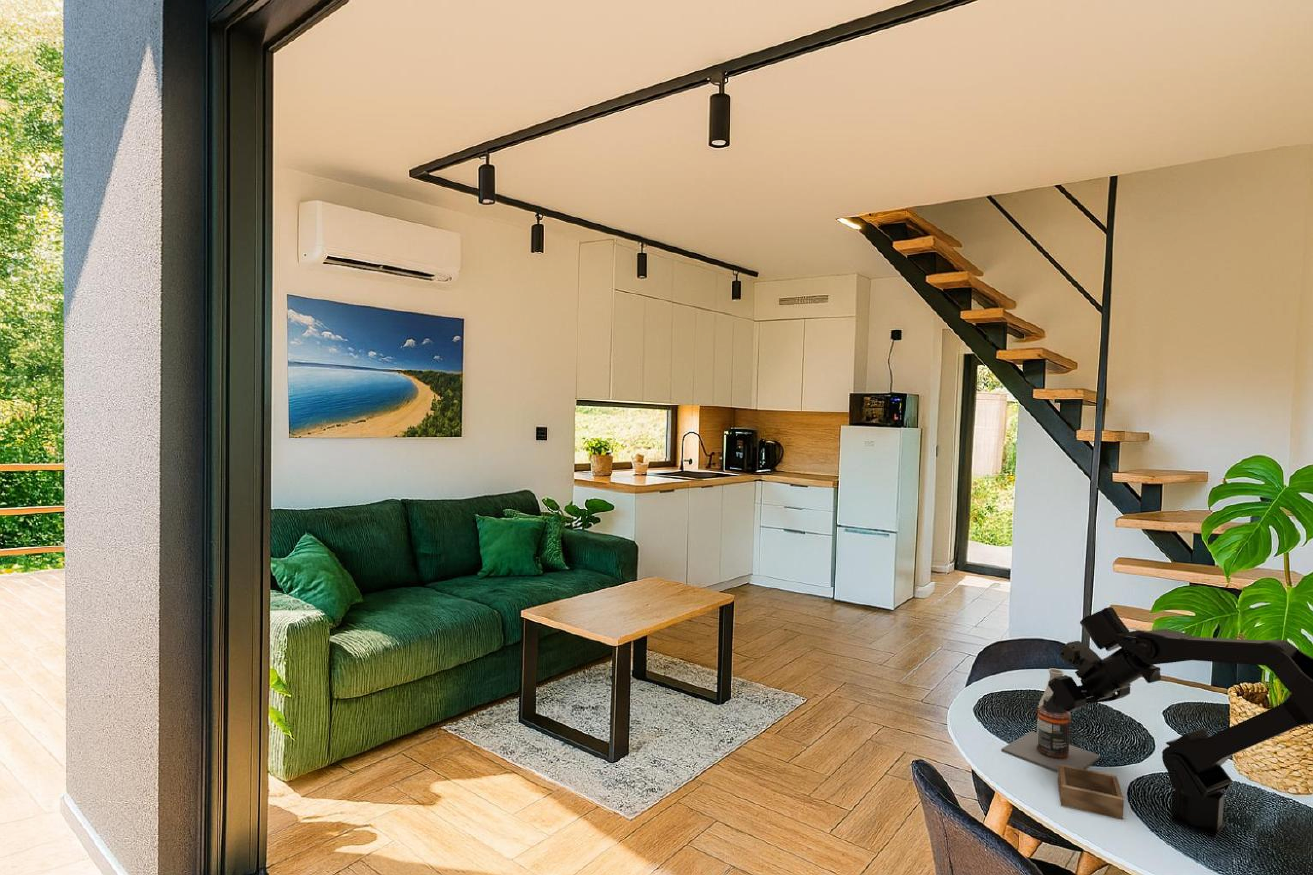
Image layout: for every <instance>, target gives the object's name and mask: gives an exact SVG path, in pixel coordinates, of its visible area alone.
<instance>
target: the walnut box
mask: <svg viewBox="0 0 1313 875" xmlns="http://www.w3.org/2000/svg"><path fill="white" fill-rule="evenodd" d="M1119 782H1120V781H1119V779H1118V776H1117V775H1115V774H1109V773H1105V772H1101V771H1096V770H1091V769H1087V768H1086V769H1082V768H1077V767H1072V766H1067V765H1063V764H1058V773H1057V787H1058V788H1057V789H1058V793H1059V795H1058V796H1059V802H1060V806H1064V807H1067V808H1071V809H1075V810H1076V809H1077V810H1080V811H1084V812H1089V813H1092V814H1093V813H1094V814H1097V815H1103V816H1107V817H1111V818H1116V819H1120V820H1123V819H1124V806H1125V800H1124V799H1125V798H1124V795H1123V792H1122V788H1121V785H1120V783H1119Z"/></svg>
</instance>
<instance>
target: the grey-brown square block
mask: <svg viewBox="0 0 1313 875" xmlns="http://www.w3.org/2000/svg"><path fill="white" fill-rule="evenodd" d="M1036 736H1037V732H1035V731H1029V732H1028V733H1025V734H1024V735H1022V736H1021V737H1019V738H1017V739H1015V740H1014V741H1012V742H1010V743H1009V744H1007V745H1006V746H1004V747H1001V749H1000V751H1001V752H1003V753H1005V754H1008V755H1010V756H1013V757H1016V758H1018V759H1021V760H1023V761H1027V762H1028V763H1032V764H1034V765H1036V766H1040V767H1042V768H1045V769H1048V770H1050V771H1052V772H1056V773H1057V774H1058V764H1063V765H1067V766H1072V767H1077V768H1082V769H1087V768H1089V767H1090V766H1092V765H1094V763H1096V762H1097V761H1098V760H1100V759H1101V755H1100V754H1097V753H1094V752H1092V751H1089V750H1085V749H1083V748H1079V747H1077V746H1075V745H1072V744H1069V753H1068V756H1067V757H1064V758H1054V757H1049V756H1046V755H1044V754H1042V753H1040V752H1039V751H1038V749H1037V737H1036Z"/></svg>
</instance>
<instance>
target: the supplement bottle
mask: <svg viewBox="0 0 1313 875" xmlns="http://www.w3.org/2000/svg"><path fill="white" fill-rule="evenodd" d="M1050 697H1051V696H1045V697H1044V701H1043V705H1042V706H1040V707H1039V709H1038V708H1037V720H1036V721H1037V723H1036V724H1037V725H1036V727H1037V728H1036V733H1037V736H1036V737H1037V749H1038V751H1039V752H1040V753H1042V754H1044V755H1046V756H1049V757H1054V758H1064V757H1067V756H1068V753H1069V745H1070V733H1071V732H1070V729H1071V728H1070V727H1071V726H1070V725H1071V713H1070V714H1069V713H1068V712H1067V711H1062V712H1047V711H1046V710H1045V708H1044V706H1045V705H1046V703H1047V702H1048V700H1049V699H1050Z"/></svg>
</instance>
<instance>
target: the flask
mask: <svg viewBox="0 0 1313 875" xmlns="http://www.w3.org/2000/svg"><path fill="white" fill-rule="evenodd" d="M1048 673H1049V679H1048V682H1049V681H1050V680H1052V679H1053V678H1055V677H1060V676H1064V671H1063V670H1062V669H1059V668H1049V669H1048ZM1052 694H1053V691H1052V690H1051V688H1050V687H1049V685H1048V684H1047V686H1046V688H1045V691H1044V692H1043V694H1042V696H1041V698H1040V700H1039V702H1038V704H1039V705H1038V704H1037V709H1038V708H1039V707H1040V706H1042V705H1043V701H1044V697H1045V696H1052ZM1068 713H1069V714H1070V715H1071V713H1070V712H1068Z"/></svg>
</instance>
